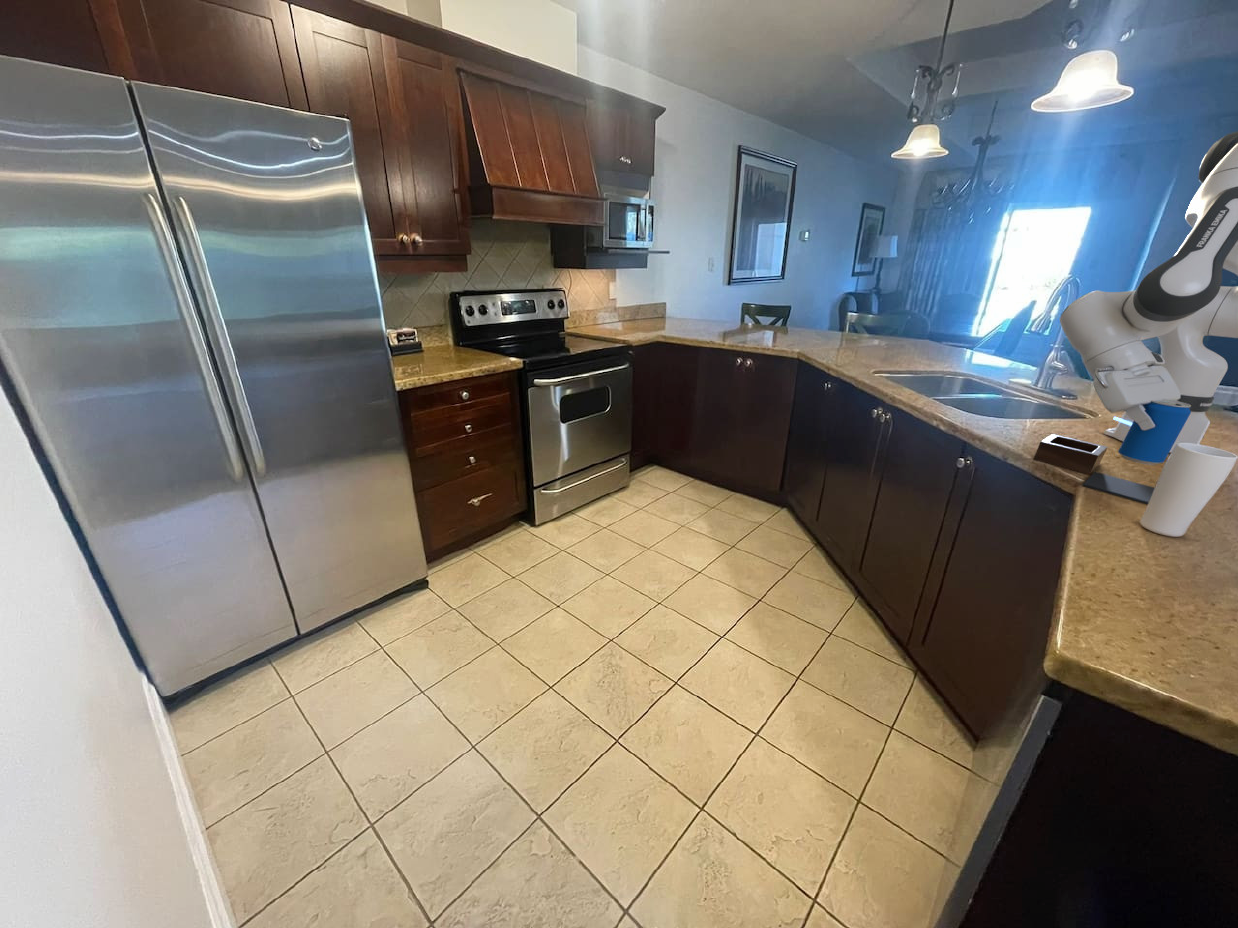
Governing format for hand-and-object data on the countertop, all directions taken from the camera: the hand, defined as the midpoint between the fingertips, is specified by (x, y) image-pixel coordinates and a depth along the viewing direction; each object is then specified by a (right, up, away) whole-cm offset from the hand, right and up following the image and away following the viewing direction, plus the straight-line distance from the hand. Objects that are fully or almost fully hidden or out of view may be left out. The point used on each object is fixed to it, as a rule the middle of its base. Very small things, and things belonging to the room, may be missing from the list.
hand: (1161, 427), depth 91 cm
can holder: (0, -7, +19) cm, 20 cm away
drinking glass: (-11, -19, -9) cm, 23 cm away
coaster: (-1, -12, +6) cm, 14 cm away
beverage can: (-1, -7, +3) cm, 7 cm away
